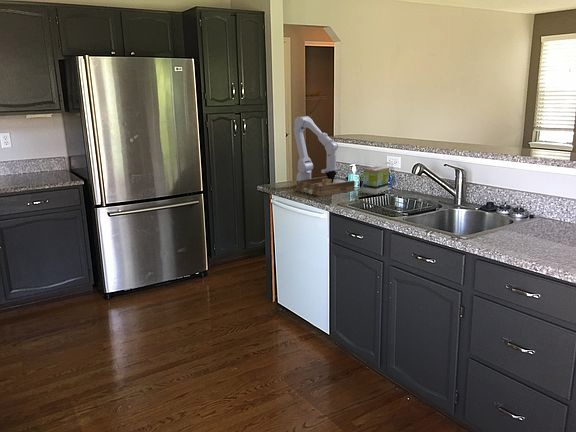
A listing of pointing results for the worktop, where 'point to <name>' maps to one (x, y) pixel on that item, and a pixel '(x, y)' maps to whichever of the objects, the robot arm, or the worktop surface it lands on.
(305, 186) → the trap board
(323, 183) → the maple cube
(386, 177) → the tea box
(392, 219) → the worktop surface
